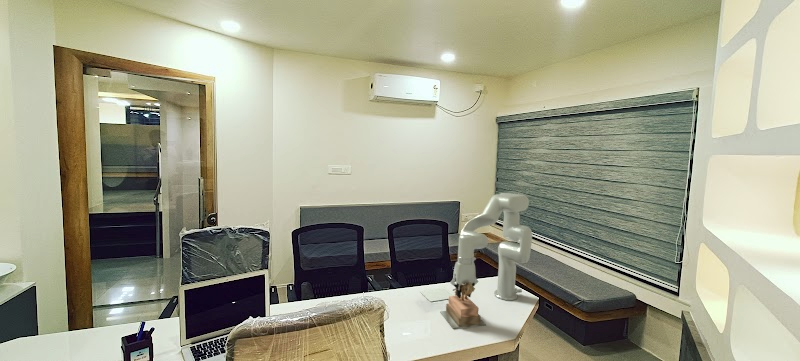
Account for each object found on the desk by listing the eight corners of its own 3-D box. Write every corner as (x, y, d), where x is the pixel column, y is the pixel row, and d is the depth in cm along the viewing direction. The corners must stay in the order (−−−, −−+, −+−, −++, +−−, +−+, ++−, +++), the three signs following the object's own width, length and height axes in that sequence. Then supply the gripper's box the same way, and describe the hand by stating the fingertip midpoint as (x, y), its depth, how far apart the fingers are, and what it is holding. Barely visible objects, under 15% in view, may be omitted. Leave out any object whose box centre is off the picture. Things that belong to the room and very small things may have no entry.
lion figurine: (475, 302, 154) (476, 284, 154) (466, 304, 152) (468, 285, 151) (456, 290, 167) (457, 273, 166) (448, 292, 165) (449, 274, 164)
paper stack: (466, 306, 173) (466, 304, 173) (424, 313, 164) (424, 311, 164) (444, 288, 195) (444, 287, 195) (406, 294, 186) (406, 293, 186)
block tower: (470, 309, 169) (471, 293, 168) (486, 325, 154) (487, 308, 153) (440, 312, 165) (440, 296, 164) (453, 329, 149) (453, 311, 149)
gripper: (477, 256, 163) (475, 292, 164) (446, 258, 158) (444, 294, 160) (485, 261, 155) (482, 298, 157) (452, 263, 151) (450, 301, 153)
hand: (463, 296), depth 158 cm, fingers closed on lion figurine, 4 cm apart
